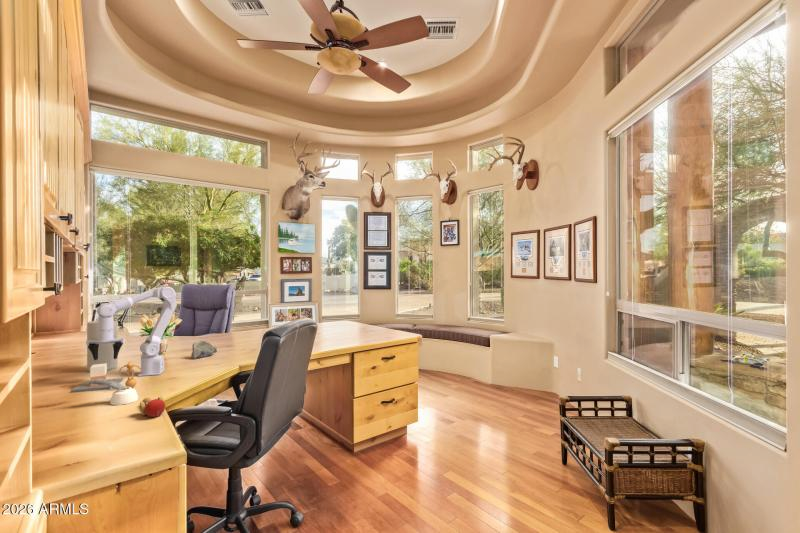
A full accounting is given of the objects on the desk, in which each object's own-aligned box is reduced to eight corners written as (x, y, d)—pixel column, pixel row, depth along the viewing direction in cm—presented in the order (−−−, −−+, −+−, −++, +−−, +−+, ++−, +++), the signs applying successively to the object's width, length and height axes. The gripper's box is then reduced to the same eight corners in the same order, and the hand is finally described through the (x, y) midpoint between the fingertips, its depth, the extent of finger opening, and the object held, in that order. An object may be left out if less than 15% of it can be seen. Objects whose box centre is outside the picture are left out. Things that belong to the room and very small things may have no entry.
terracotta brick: (106, 381, 170) (106, 372, 170) (104, 384, 165) (105, 375, 165) (92, 383, 168) (92, 374, 168) (90, 386, 163) (90, 377, 163)
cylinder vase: (123, 366, 200) (123, 320, 200) (99, 372, 188) (100, 323, 188) (105, 365, 203) (105, 319, 203) (80, 371, 191) (80, 322, 191)
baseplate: (123, 380, 175) (123, 378, 175) (109, 389, 162) (109, 386, 162) (87, 382, 171) (87, 380, 171) (70, 392, 158) (70, 390, 158)
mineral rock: (217, 354, 229) (217, 338, 229) (214, 358, 219) (214, 341, 219) (194, 356, 225) (194, 339, 225) (189, 360, 215) (189, 342, 215)
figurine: (143, 385, 168) (143, 358, 168) (140, 388, 162) (140, 361, 162) (120, 387, 164) (120, 360, 164) (117, 391, 159) (117, 363, 159)
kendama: (131, 412, 139) (142, 419, 126) (135, 394, 140) (145, 399, 128) (155, 410, 144) (167, 417, 131) (158, 393, 146) (171, 398, 133)
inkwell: (137, 402, 145) (137, 377, 145) (77, 411, 136) (77, 384, 136) (139, 395, 153) (139, 371, 153) (83, 404, 144) (83, 378, 144)
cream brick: (106, 372, 171) (106, 363, 171) (104, 375, 166) (104, 366, 166) (92, 373, 168) (92, 364, 168) (90, 376, 163) (90, 367, 163)
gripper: (127, 327, 179) (127, 356, 179) (91, 329, 175) (91, 358, 175) (121, 330, 173) (121, 359, 173) (83, 331, 168) (83, 361, 168)
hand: (105, 359), depth 173 cm, fingers open, 7 cm apart
